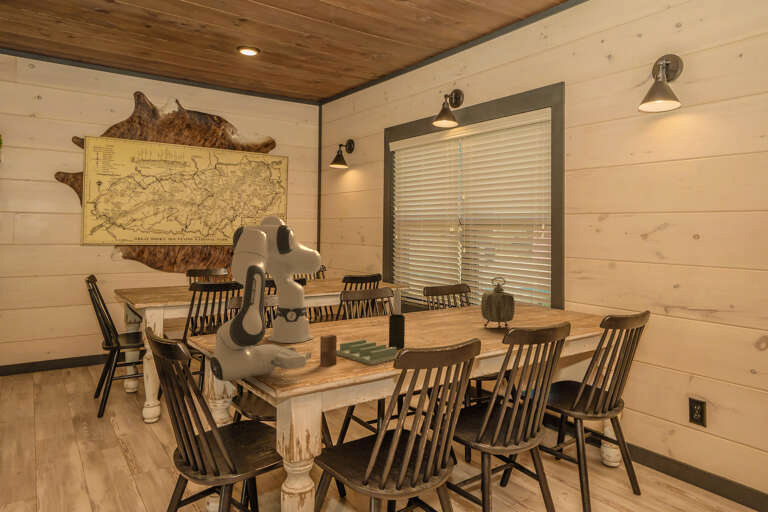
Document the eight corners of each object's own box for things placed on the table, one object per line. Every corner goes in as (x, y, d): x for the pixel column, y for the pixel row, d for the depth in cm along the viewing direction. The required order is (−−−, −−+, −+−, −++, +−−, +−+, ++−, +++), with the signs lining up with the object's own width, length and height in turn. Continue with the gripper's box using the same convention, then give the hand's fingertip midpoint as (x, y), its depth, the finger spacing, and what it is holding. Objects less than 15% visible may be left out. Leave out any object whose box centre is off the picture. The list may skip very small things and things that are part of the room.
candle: (396, 345, 198) (397, 284, 197) (405, 347, 194) (406, 285, 193) (387, 347, 194) (388, 285, 193) (396, 349, 191) (397, 286, 190)
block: (324, 366, 165) (324, 337, 164) (320, 365, 166) (320, 336, 166) (336, 364, 168) (336, 335, 168) (332, 362, 170) (332, 334, 169)
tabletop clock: (508, 326, 243) (509, 276, 242) (515, 329, 234) (516, 278, 233) (480, 326, 241) (481, 276, 240) (486, 330, 232) (487, 278, 231)
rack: (371, 365, 167) (371, 353, 167) (336, 354, 182) (336, 343, 182) (400, 358, 177) (400, 347, 177) (364, 348, 192) (364, 338, 191)
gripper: (281, 355, 143) (320, 348, 152) (249, 343, 158) (286, 337, 167) (281, 377, 143) (320, 368, 152) (249, 362, 158) (286, 355, 168)
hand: (302, 352), depth 160 cm, fingers open, 8 cm apart
